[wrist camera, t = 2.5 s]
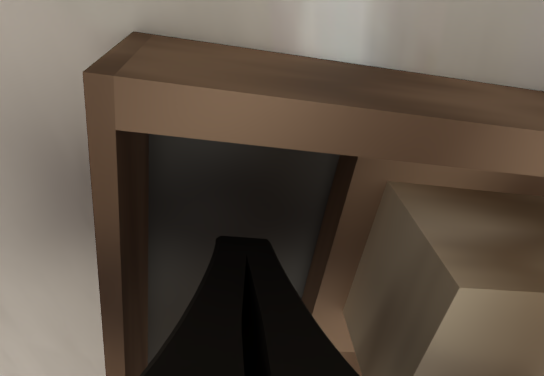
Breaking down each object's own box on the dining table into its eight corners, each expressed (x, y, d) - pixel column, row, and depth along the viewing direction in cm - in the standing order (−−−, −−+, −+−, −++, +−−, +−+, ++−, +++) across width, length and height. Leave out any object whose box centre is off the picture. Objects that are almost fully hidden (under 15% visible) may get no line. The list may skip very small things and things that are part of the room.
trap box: (895, 143, 14) (1108, 204, 11) (617, 418, 22) (686, 503, 19) (133, 31, 10) (82, 71, 7) (138, 415, 19) (117, 520, 15)
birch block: (550, 197, 12) (684, 301, 8) (479, 318, 14) (559, 437, 11) (387, 180, 11) (459, 287, 7) (342, 311, 13) (380, 437, 10)
